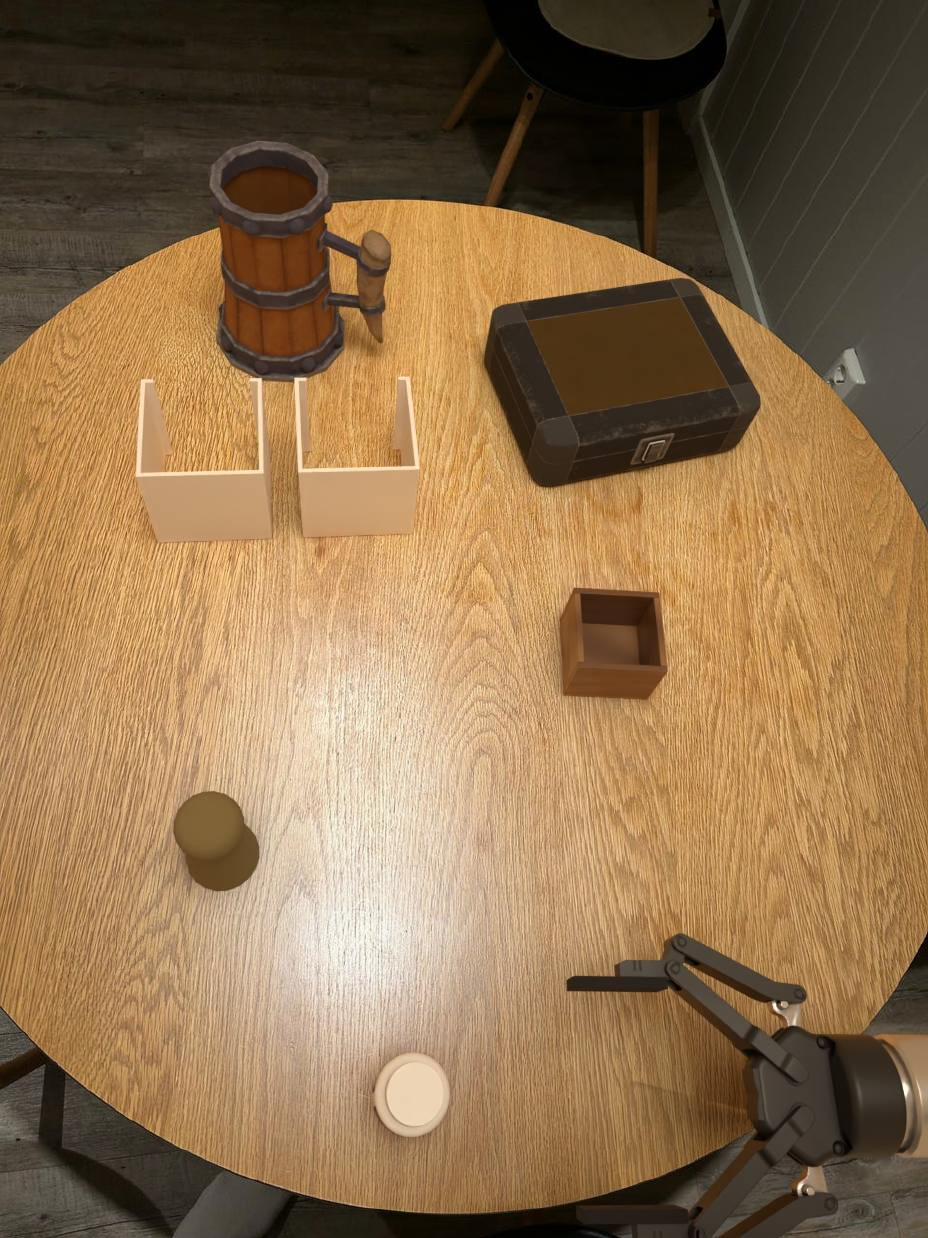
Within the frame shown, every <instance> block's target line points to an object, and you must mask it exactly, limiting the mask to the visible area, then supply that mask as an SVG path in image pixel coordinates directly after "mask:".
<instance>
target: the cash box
mask: <svg viewBox="0 0 928 1238" xmlns="http://www.w3.org/2000/svg"><path fill="white" fill-rule="evenodd" d="M483 361H484V364H485V367H486V369H487V371H488V374H489V376H490V379H491V381H492V384H493V386H494V388H495V391H496V393H497V396H498V399H499V400H500V403H501V405H502V408H503V411H504V412H505V415H506V419H507V420H508V423H509V425H510V427H511V430H512V432H513V435H514V437H515V440H516V442H517V444H518V446H519V449H520V451H521V454H522V457H523V458H524V461H525V463H526V466H527V468H528V471H529V473H530V475H531V478H532V479H534V481H535V482H536V483H537V484H538V485H540V486H548V487H552V486H559V485H563V484H569V483H573V482H579V481H583V480H588V479H593V478H598V477H602V476H603V477H604V476H608V475H613V474H618V473H623V472H628V471H633V470H637V469H643V468H648V467H652V466H653V467H654V466H658V465H662V464H667V463H672V462H676V461H681V460H686V459H692V458H698V457H702V456H706V455H711V454H712V455H713V454H716V453H721V452H722V453H723V452H727V451H730V450H732V449H733V448H735V447H736V446H737V445H739V444H740V443H741V441H742V439H743V437H744V436H745V434H746V433H747V431H748V429H749V428H750V426H751V424H752V422H753V421H754V419H755V417H756V416H757V414H758V412H759V411H760V409H761V407H762V402H761V401H762V400H761V395H760V393H759V391H758V390H757V388H756V386H755V385H754V384H755V383H753V380H752V379H751V377H750V375H749V373H748V372H747V370H746V368H745V366H744V364H743V363H742V360H741V359H740V358H739V356H738V354H737V352H736V350H735V348H734V347H733V344H732V343H731V341H730V340H729V338H728V336H727V335H726V333H725V330H724V328H723V327H722V326H721V323H720V322H719V320H718V318H717V316H716V314H715V313H714V311H713V310H712V308H711V306H710V304H709V302H708V301H707V299H706V297H705V295H704V294H703V292H702V290H701V288H700V286H699V285H698V284H697V283H696V282H695V281H694V280H692V279H691V278H687V277H686V278H685V277H677V278H670V279H669V278H668V279H661V280H656V281H650V282H649V281H648V282H643V283H636V284H629V285H623V286H616V287H610V288H609V287H608V288H603V289H596V290H589V291H583V292H576V293H569V294H564V295H557V296H551V297H544V298H538V299H537V298H536V299H531V300H524V301H516V302H512V303H504V304H501V305H499V306H497V307H496V308H494V309H492V312H491V318H490V321H489V328H488V333H487V338H486V344H485V348H484V357H483Z"/></svg>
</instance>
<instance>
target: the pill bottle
mask: <svg viewBox="0 0 928 1238" xmlns="http://www.w3.org/2000/svg"><path fill="white" fill-rule="evenodd" d="M449 1083H450V1082H449V1079H448V1076H447V1074H446V1071H445V1070H444V1069H443V1068H442V1066H441V1065H440V1064H439V1062H438V1061H437V1060H436V1059H434V1058H433V1057H431V1056H429V1055H427V1054H424V1053H421V1052H413V1051H412V1052H405V1053H401V1054H399V1055H397V1056H395V1057H393V1058H391V1059H390V1060H389V1061H388V1062H387V1063H385V1065H384V1066H383V1067H382V1068H381V1070H380V1071H379V1072H378V1074H377V1075H376V1077H375V1080H374V1082H373V1086H372V1091H371V1101H372V1107H373V1111H374V1114H375V1116H376V1118H377V1120H378V1121H379V1123H380V1124H381V1125H382V1126H383V1127H384V1128H385V1129H387V1130H388V1131H389V1132H391V1133H392V1134H396V1135H398V1136H400V1137H405V1138H418V1137H421V1136H424V1135H426V1134H428V1133H430V1132H432V1131H433V1130H434V1129H436V1128H437V1127H438V1126H439V1125H440V1123H441V1122H442V1121H443V1119H444V1117H445V1116H446V1114H447V1112H448V1109H449V1105H450V1100H451V1089H450V1084H449Z"/></svg>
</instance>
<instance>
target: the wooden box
mask: <svg viewBox="0 0 928 1238" xmlns="http://www.w3.org/2000/svg"><path fill="white" fill-rule="evenodd" d="M559 631H560V651H561V669H562V670H561V671H562V690H563V696H565V697H566V696H568V697H588V698H589V697H590V698H591V697H592V698H613V699H632V700H649V697H651V695H652V694H653V692H654V691H655V690H656V688H657V687H658V686H659V685H660V683H661V682H662V681H663V679H664V678H665V677H666V675H667V674H668V672H669V671H668V669H669V668H668V659H667V651H666V641H665V640H666V639H665V633H664V631H665V630H664V622H663V614H662V603H661V595H660V592H658V591H641V590H624V589H609V588H605V589H604V588H591V587H590V588H589V587H573V588H572V590H571V593H570V595H569V598H568V600H567V602H566V605H565V606H564V609H563V611H562V613H561V616H560V618H559Z"/></svg>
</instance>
